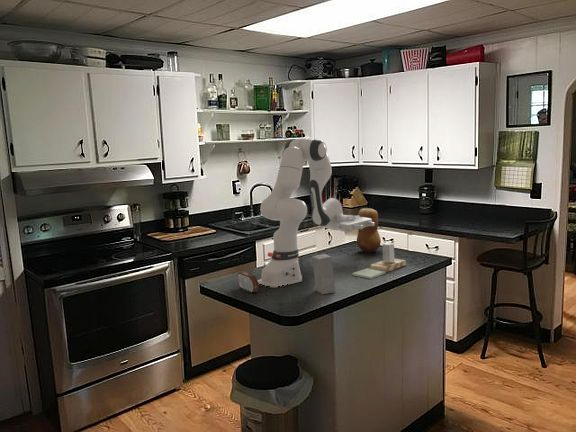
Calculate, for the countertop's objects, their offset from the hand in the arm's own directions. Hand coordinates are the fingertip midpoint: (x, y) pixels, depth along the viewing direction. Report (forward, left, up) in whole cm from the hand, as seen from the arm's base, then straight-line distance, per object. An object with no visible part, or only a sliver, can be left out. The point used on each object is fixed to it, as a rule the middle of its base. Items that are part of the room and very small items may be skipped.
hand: (368, 225), depth 252 cm
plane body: (0, -12, -20) cm, 23 cm away
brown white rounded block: (-68, +15, -20) cm, 73 cm away
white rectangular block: (0, -12, -20) cm, 23 cm away
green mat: (-16, -12, -20) cm, 28 cm away
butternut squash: (+21, +17, -20) cm, 34 cm away
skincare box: (-48, -13, -20) cm, 54 cm away
